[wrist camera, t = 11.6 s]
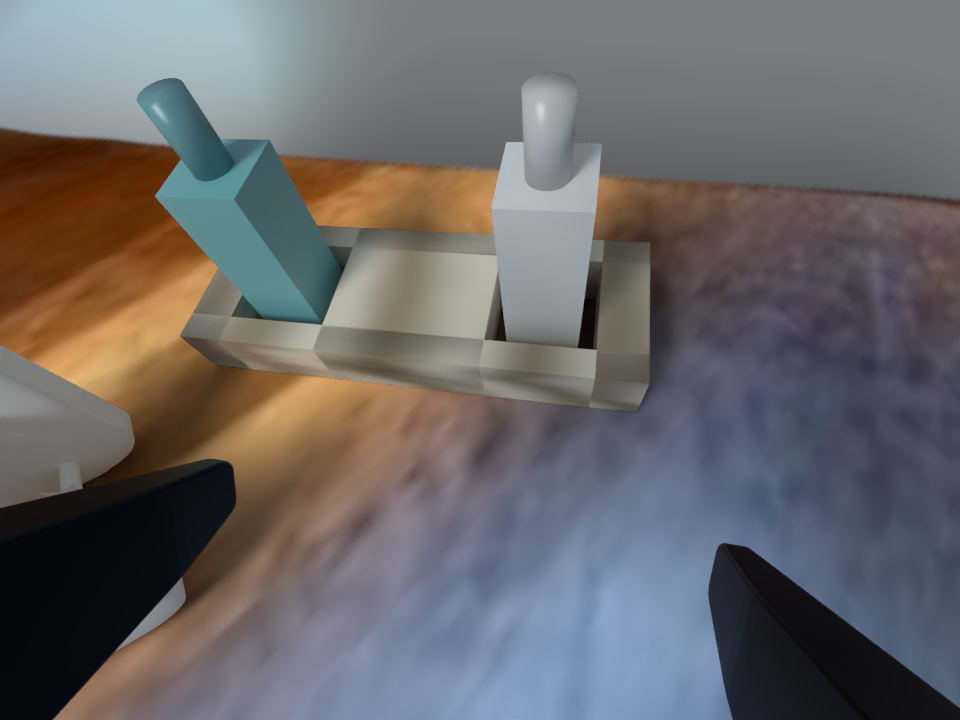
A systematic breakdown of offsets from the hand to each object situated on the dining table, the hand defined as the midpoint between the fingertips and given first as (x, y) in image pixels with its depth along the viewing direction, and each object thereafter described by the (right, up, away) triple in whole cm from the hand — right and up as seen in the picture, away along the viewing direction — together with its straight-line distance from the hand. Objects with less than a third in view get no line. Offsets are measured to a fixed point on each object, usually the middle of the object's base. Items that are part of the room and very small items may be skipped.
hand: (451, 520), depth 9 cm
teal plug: (-9, +5, +19) cm, 21 cm away
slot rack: (-2, +5, +17) cm, 18 cm away
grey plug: (+4, +4, +16) cm, 17 cm away
